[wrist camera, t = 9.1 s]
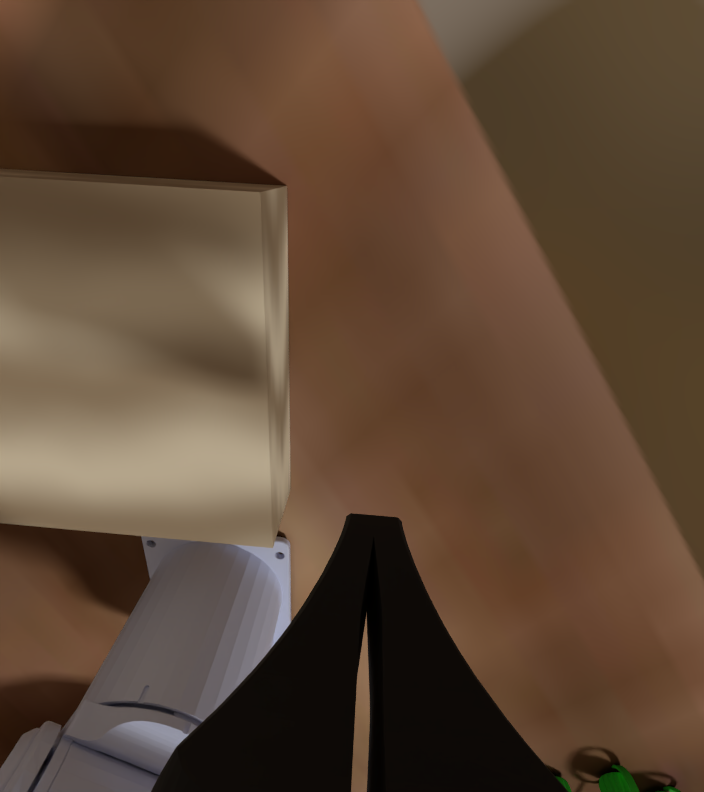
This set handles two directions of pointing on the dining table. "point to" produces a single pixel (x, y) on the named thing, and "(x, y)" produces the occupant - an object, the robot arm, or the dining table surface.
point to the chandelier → (617, 782)
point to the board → (144, 356)
